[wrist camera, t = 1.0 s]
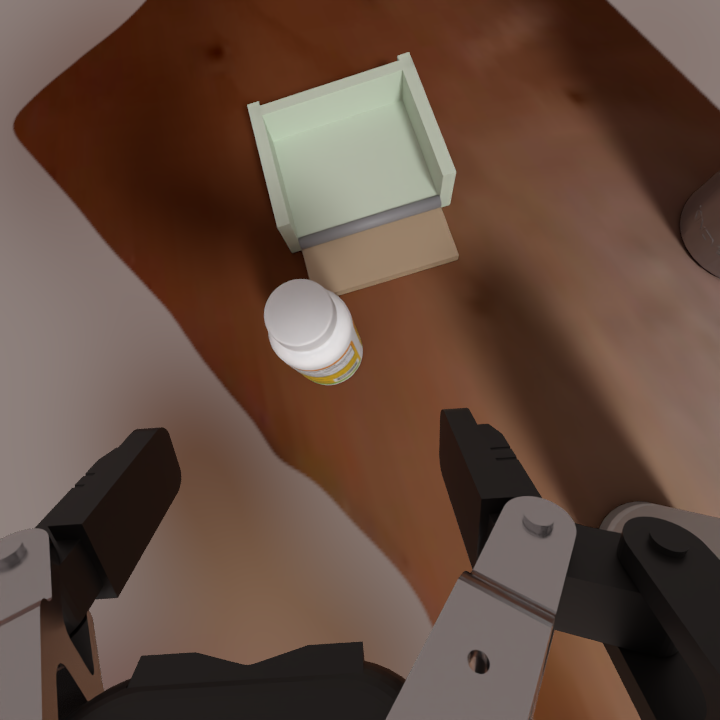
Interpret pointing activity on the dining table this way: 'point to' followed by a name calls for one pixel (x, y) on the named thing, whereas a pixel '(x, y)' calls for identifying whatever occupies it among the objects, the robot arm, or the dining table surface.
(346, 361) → the supplement bottle
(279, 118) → the tray
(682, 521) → the travel mug
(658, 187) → the dining table surface
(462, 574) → the robot arm
